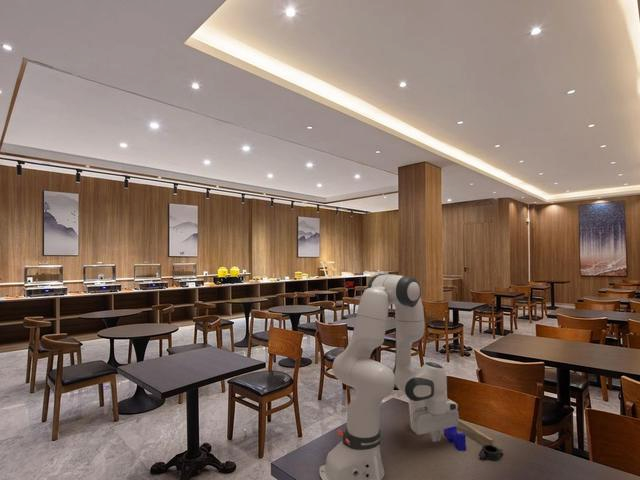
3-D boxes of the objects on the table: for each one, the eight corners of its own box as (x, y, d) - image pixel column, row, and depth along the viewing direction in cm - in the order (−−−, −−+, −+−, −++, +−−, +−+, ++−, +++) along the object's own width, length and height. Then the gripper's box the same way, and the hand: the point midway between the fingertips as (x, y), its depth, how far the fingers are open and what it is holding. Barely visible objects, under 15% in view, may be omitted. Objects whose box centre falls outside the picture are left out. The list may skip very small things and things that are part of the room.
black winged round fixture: (509, 464, 127) (509, 456, 127) (479, 461, 128) (479, 453, 129) (502, 452, 134) (502, 444, 134) (474, 450, 136) (473, 442, 136)
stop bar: (481, 453, 133) (481, 442, 133) (439, 425, 155) (439, 415, 155) (493, 450, 135) (493, 439, 136) (450, 422, 157) (450, 413, 157)
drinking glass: (407, 430, 150) (406, 395, 151) (411, 424, 156) (411, 389, 157) (423, 435, 147) (422, 398, 147) (427, 428, 153) (426, 392, 153)
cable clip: (443, 434, 147) (443, 420, 148) (454, 434, 147) (454, 420, 147) (453, 451, 135) (453, 435, 136) (465, 451, 135) (465, 435, 135)
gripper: (418, 413, 133) (418, 450, 132) (461, 403, 140) (462, 439, 140) (408, 406, 139) (408, 442, 138) (449, 397, 146) (450, 432, 146)
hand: (435, 440), depth 139 cm, fingers closed
